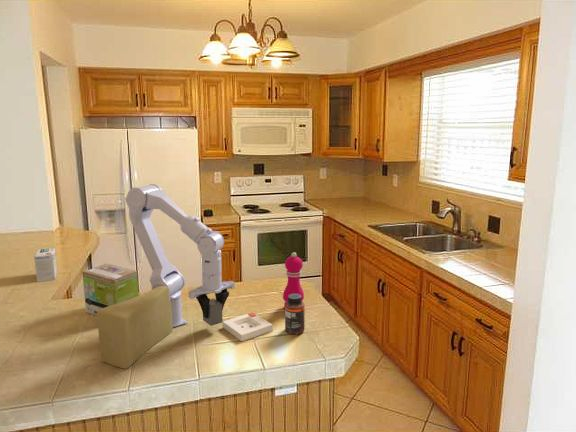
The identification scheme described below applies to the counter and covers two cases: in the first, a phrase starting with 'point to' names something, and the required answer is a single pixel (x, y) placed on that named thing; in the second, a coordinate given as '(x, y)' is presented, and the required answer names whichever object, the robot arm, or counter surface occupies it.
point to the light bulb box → (45, 264)
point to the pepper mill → (293, 277)
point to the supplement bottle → (294, 314)
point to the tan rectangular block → (134, 326)
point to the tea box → (108, 286)
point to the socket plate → (247, 326)
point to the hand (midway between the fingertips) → (212, 315)
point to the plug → (214, 313)
